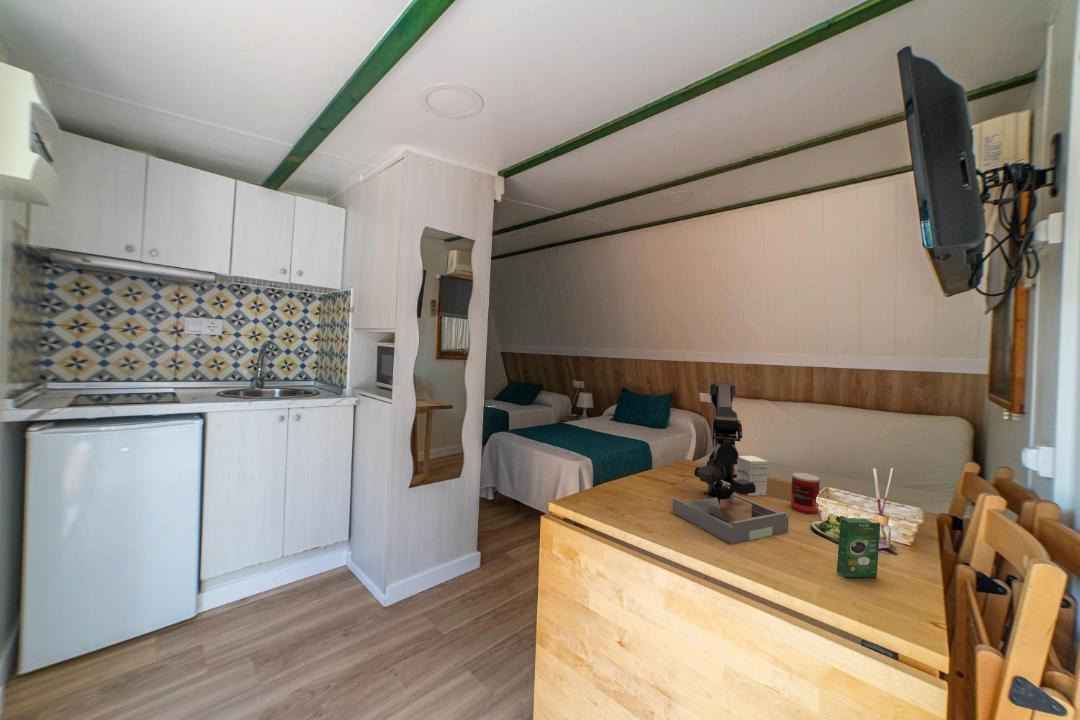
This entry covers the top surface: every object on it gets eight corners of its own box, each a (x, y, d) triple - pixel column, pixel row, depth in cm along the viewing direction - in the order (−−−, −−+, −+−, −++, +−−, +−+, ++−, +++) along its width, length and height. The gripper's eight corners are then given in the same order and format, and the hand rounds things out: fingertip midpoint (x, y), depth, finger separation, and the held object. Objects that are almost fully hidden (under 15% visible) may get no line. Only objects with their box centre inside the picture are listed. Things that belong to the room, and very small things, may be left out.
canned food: (810, 505, 143) (811, 473, 143) (823, 514, 135) (825, 480, 135) (786, 504, 144) (787, 471, 144) (798, 513, 136) (799, 479, 136)
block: (719, 514, 127) (720, 499, 127) (734, 511, 129) (735, 497, 129) (735, 522, 121) (736, 506, 121) (751, 519, 124) (751, 504, 124)
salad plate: (918, 552, 112) (919, 535, 112) (869, 560, 107) (869, 542, 107) (846, 522, 130) (847, 507, 130) (801, 528, 125) (802, 513, 125)
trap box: (672, 512, 134) (673, 495, 134) (724, 503, 143) (724, 487, 143) (731, 544, 113) (732, 523, 113) (787, 531, 122) (788, 512, 122)
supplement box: (735, 489, 158) (736, 455, 157) (753, 488, 159) (754, 455, 159) (748, 496, 151) (750, 461, 150) (767, 495, 152) (768, 460, 152)
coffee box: (868, 571, 101) (871, 517, 100) (878, 578, 98) (881, 522, 97) (835, 571, 100) (838, 516, 100) (845, 578, 97) (848, 522, 97)
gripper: (682, 451, 135) (680, 499, 135) (729, 467, 118) (726, 522, 118) (708, 448, 139) (706, 495, 140) (758, 463, 122) (755, 517, 122)
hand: (722, 507), depth 130 cm, fingers closed
